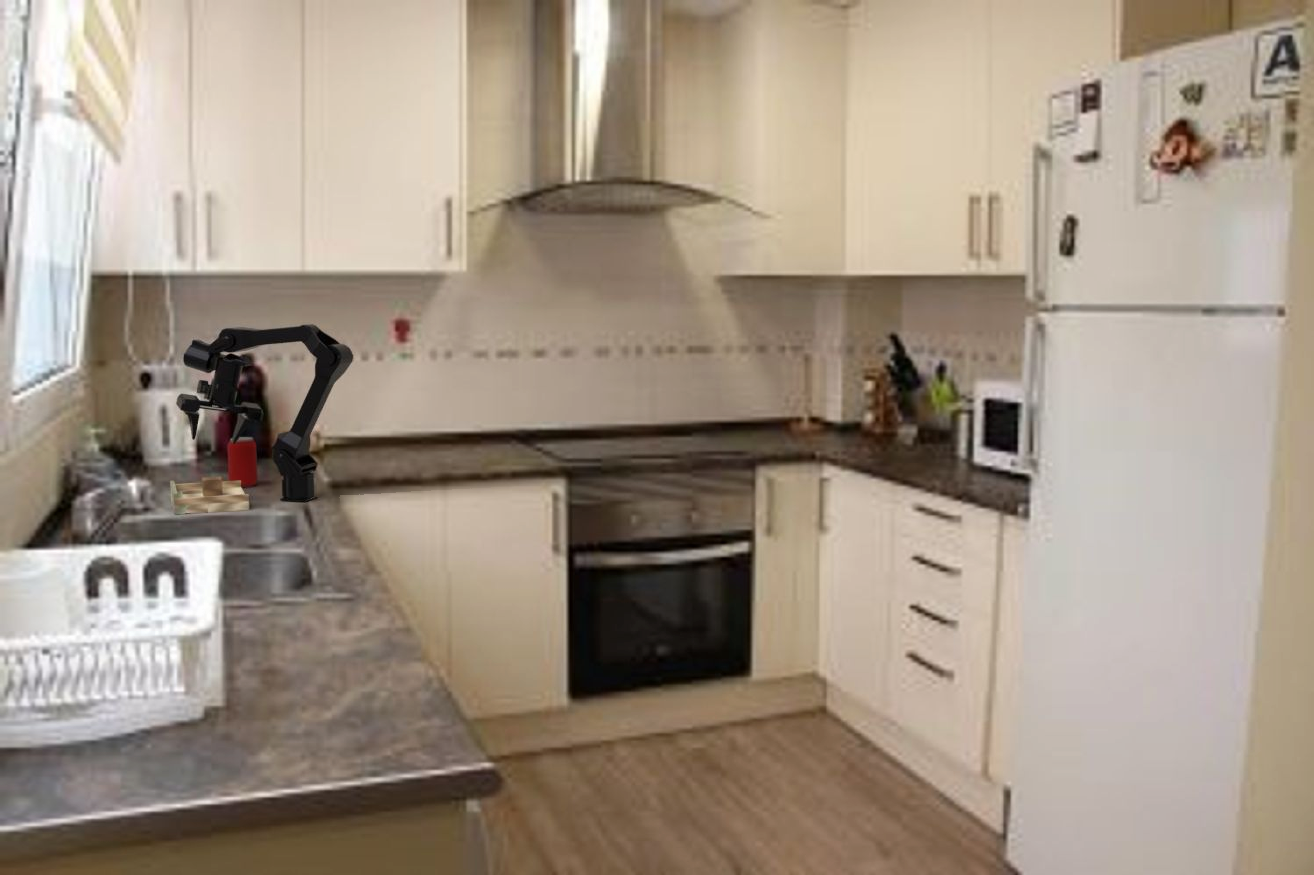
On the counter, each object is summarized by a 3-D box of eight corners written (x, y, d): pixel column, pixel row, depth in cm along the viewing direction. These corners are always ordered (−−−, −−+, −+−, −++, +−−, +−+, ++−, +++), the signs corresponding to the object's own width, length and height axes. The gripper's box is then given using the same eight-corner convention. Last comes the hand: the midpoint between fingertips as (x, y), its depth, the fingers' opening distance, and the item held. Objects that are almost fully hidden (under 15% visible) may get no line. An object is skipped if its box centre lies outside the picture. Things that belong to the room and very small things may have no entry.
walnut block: (221, 493, 261) (220, 476, 260) (222, 496, 257) (222, 479, 257) (202, 494, 259) (202, 477, 259) (203, 497, 256) (203, 480, 255)
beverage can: (262, 483, 285) (260, 437, 283) (250, 488, 278) (248, 440, 276) (236, 482, 285) (235, 436, 284) (224, 487, 279) (222, 439, 277)
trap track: (241, 494, 270) (240, 476, 269) (249, 509, 253) (248, 490, 252) (170, 499, 263) (170, 480, 263) (174, 514, 246) (173, 494, 246)
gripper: (257, 376, 277) (244, 436, 279) (178, 364, 266) (165, 426, 268) (269, 388, 268) (256, 450, 271) (188, 376, 257) (174, 440, 260)
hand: (213, 441), depth 267 cm, fingers open, 9 cm apart
